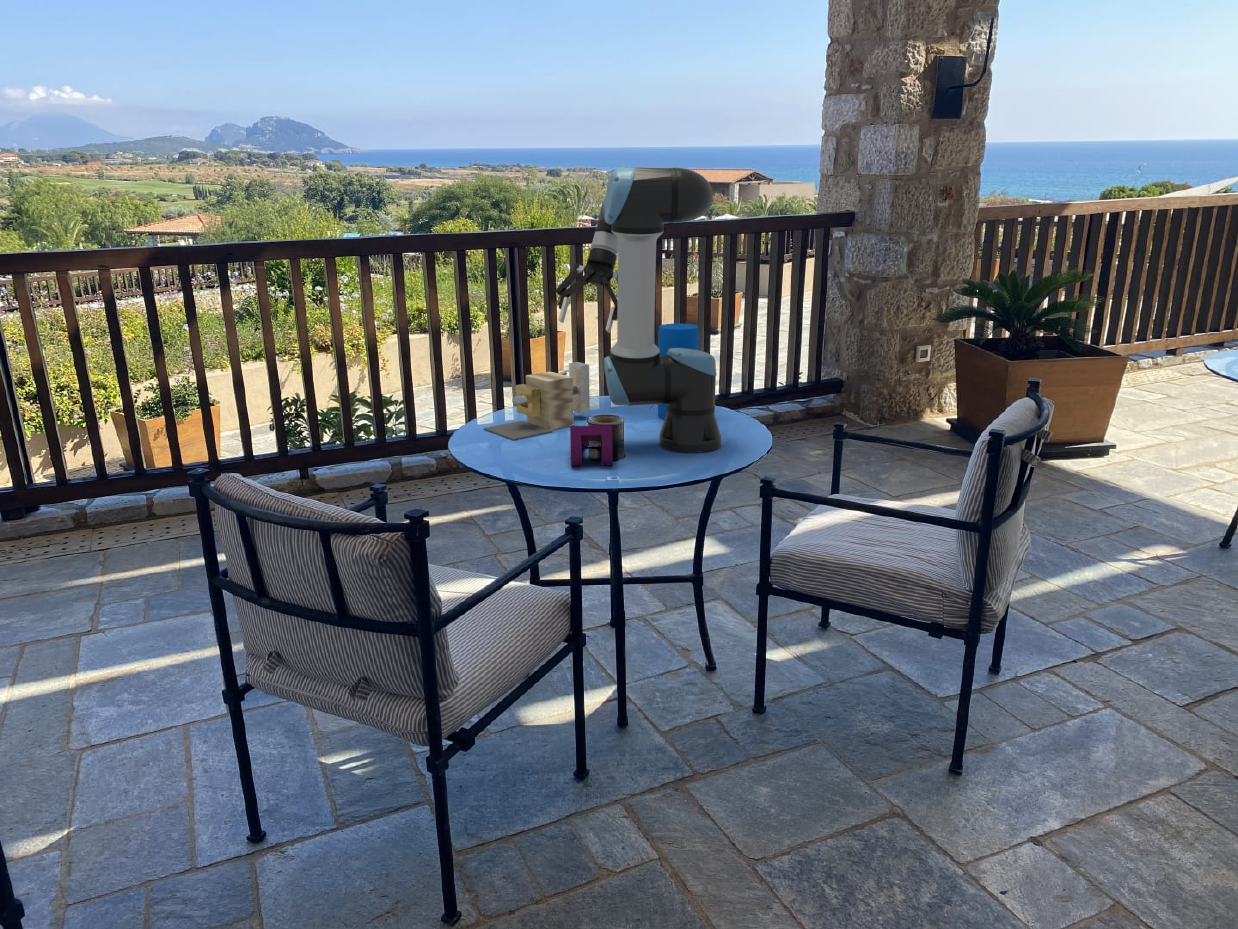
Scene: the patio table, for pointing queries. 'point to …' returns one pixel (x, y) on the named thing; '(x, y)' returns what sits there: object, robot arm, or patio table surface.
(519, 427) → the rubber mat
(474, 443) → the patio table surface
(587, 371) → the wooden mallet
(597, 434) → the mounting bracket
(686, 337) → the tall blue cylinder
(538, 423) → the wooden block
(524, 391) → the brass spacer
